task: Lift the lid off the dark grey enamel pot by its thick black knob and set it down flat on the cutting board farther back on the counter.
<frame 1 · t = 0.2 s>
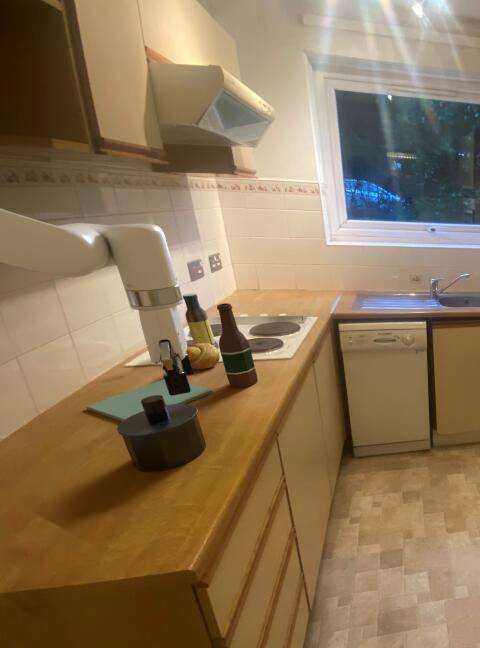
hand: (182, 384, 84), 19 cm above the countertop, tool pointing down, fingers open, 9 cm apart
beer bottle: (244, 383, 129), on the countertop
sauce bottle: (206, 349, 156), on the countertop
pot lid: (159, 420, 91), point 8 cm above the countertop, touching pot
cutting board: (152, 400, 118), on the countertop
bread roll: (205, 365, 142), on the countertop
pot: (171, 454, 94), on the countertop
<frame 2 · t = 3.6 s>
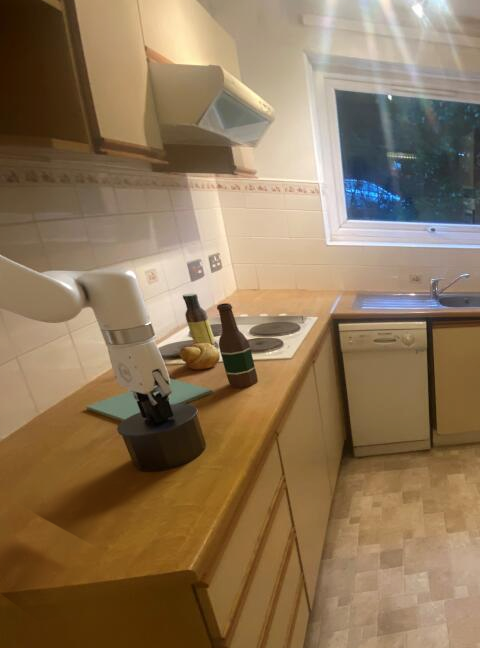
hand: (158, 416, 91), 9 cm above the countertop, tool pointing down, fingers closed on pot lid, 3 cm apart
pot lid: (159, 420, 91), point 9 cm above the countertop, touching gripper, pot
everything else where it was.
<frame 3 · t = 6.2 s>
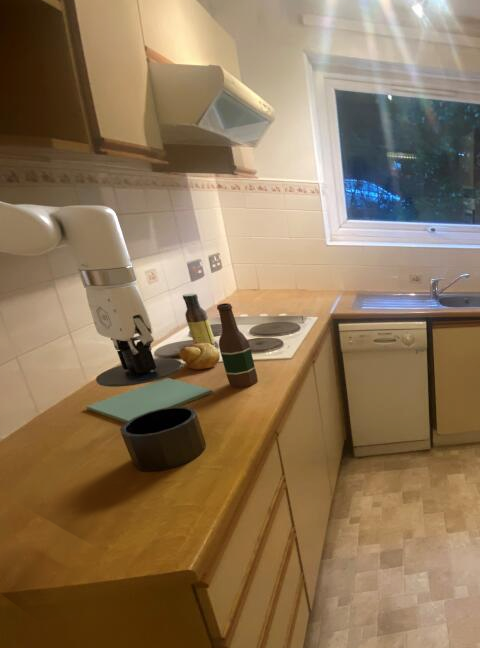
hand: (139, 368, 86), 20 cm above the countertop, tool pointing down, fingers closed on pot lid, 3 cm apart
pot lid: (141, 372, 87), point 19 cm above the countertop, touching gripper
everything else where it was.
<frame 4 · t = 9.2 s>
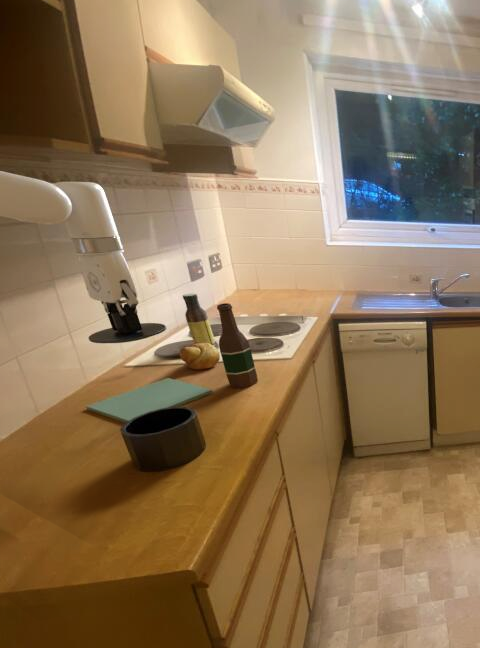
hand: (127, 329, 97), 24 cm above the countertop, tool pointing down, fingers closed on pot lid, 3 cm apart
pot lid: (129, 333, 97), point 23 cm above the countertop, touching gripper
everything else where it was.
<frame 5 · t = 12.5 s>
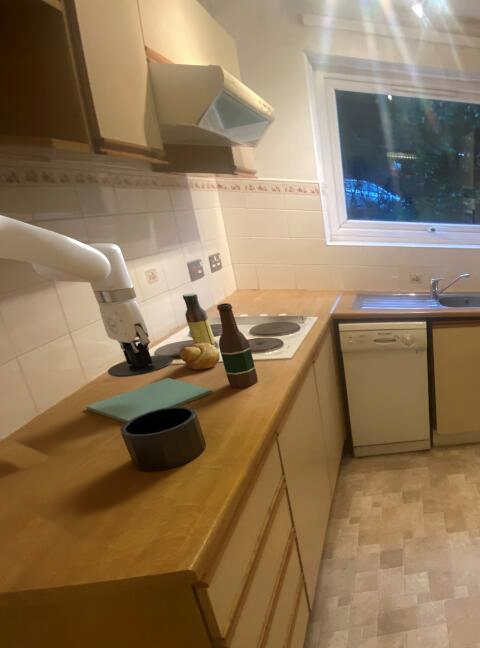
hand: (140, 363, 114), 11 cm above the countertop, tool pointing down, fingers closed on pot lid, 3 cm apart
pot lid: (141, 366, 114), point 10 cm above the countertop, touching gripper
everything else where it was.
when the fingers open (3 cm above the countertop, at t = 14.8 s): pot lid stays where it is, resting on cutting board.
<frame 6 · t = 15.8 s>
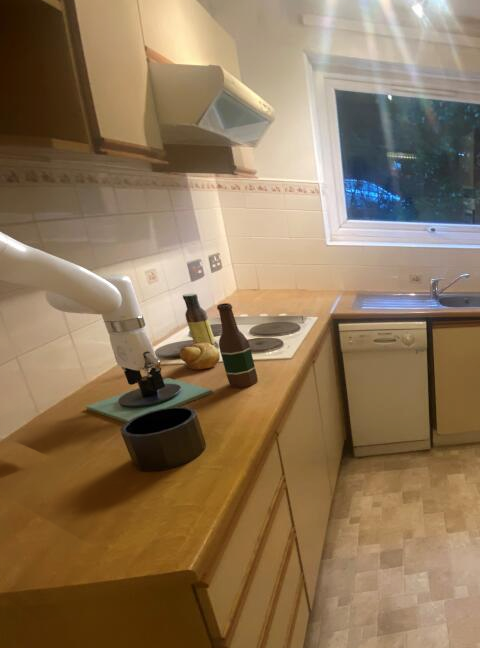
hand: (147, 385, 116), 5 cm above the countertop, tool pointing down, fingers open, 9 cm apart
pot lid: (151, 395, 117), point 2 cm above the countertop, touching cutting board
everything else where it was.
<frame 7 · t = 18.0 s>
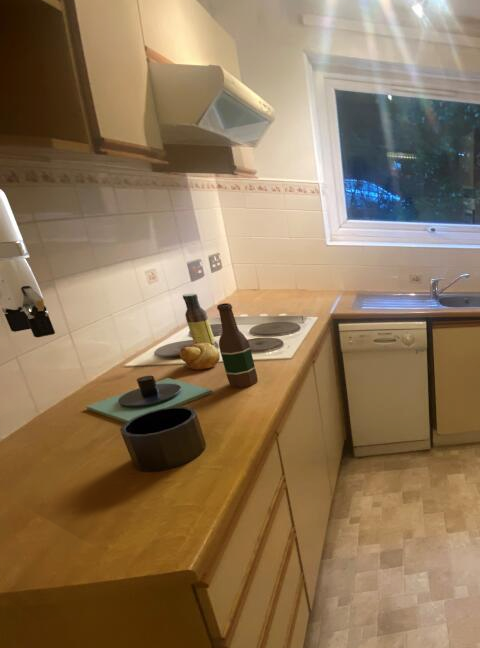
hand: (33, 332, 93), 25 cm above the countertop, tool pointing down, fingers open, 9 cm apart
nothing on the countertop moved.
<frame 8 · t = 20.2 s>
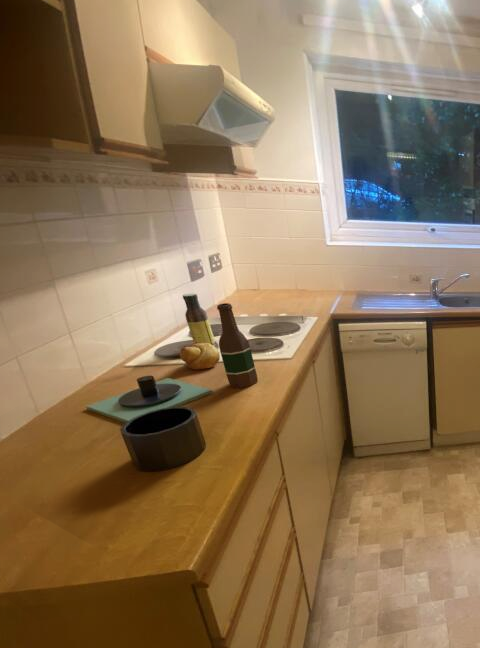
nothing on the countertop moved.
at the end: pot lid inside the target area on the cutting board (0.1 cm from its centre), point 1.6 cm above the cutting board's base; pot lid tilted 0° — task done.
